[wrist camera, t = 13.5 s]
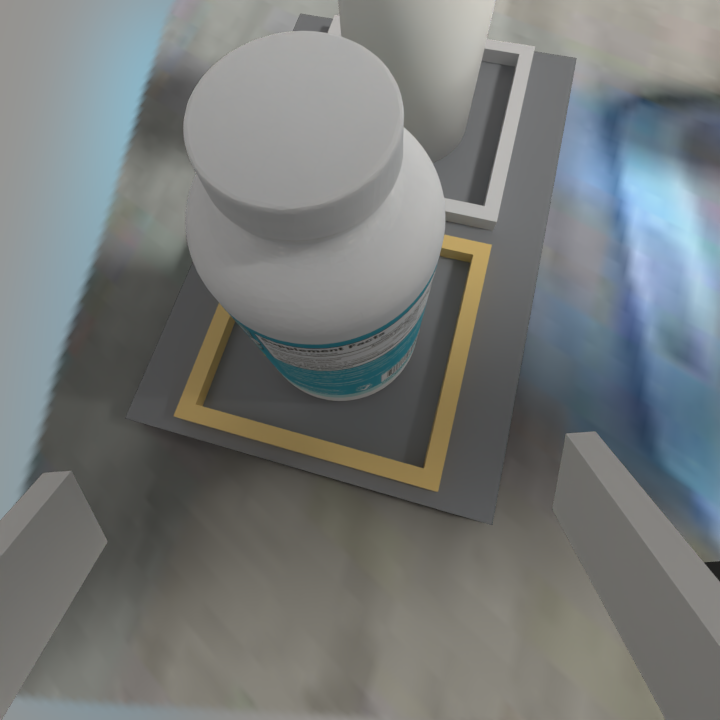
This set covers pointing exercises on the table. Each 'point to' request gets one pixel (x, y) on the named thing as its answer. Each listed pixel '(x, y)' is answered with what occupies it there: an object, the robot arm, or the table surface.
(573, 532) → the robot arm
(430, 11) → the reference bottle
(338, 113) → the pill bottle
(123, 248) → the table surface
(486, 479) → the grey base plate
